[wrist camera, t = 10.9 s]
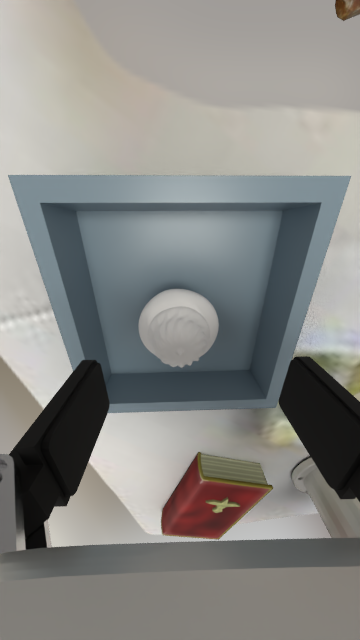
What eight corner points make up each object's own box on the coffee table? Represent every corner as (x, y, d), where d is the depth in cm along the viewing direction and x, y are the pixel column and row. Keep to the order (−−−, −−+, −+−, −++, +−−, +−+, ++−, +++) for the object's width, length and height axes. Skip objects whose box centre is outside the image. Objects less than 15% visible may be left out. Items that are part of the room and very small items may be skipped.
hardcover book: (161, 506, 38) (160, 537, 34) (197, 449, 29) (200, 481, 26) (214, 512, 40) (218, 541, 36) (261, 459, 31) (274, 490, 28)
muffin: (134, 288, 16) (109, 324, 10) (201, 269, 16) (221, 293, 9) (157, 344, 19) (149, 401, 12) (215, 329, 18) (238, 381, 12)
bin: (294, 194, 14) (351, 175, 10) (255, 372, 22) (275, 407, 18) (62, 194, 14) (7, 175, 9) (105, 375, 22) (87, 413, 17)
